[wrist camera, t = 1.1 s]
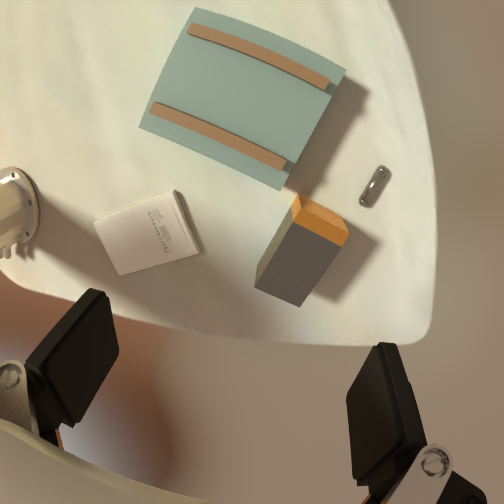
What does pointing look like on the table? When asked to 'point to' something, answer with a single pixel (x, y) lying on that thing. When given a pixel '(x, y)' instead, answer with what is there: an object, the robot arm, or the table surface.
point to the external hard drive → (147, 234)
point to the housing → (300, 251)
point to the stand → (241, 96)
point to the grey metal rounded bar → (373, 185)
